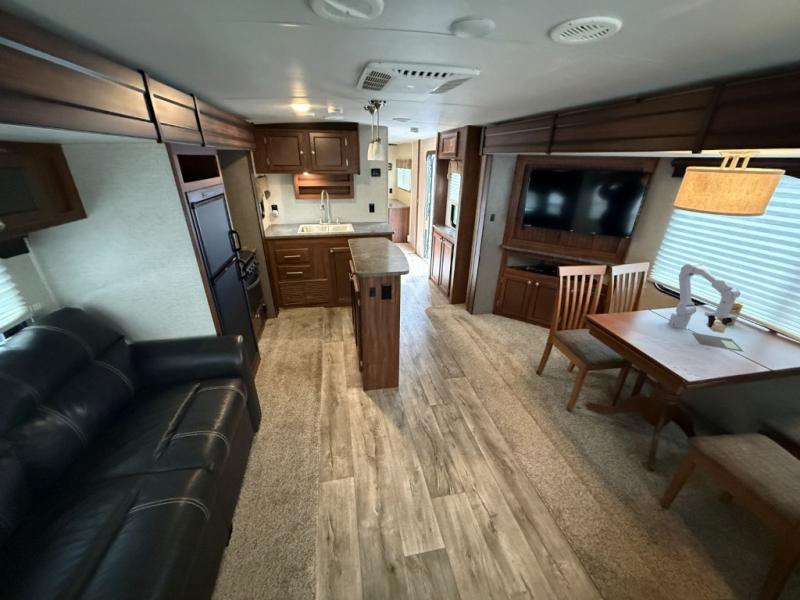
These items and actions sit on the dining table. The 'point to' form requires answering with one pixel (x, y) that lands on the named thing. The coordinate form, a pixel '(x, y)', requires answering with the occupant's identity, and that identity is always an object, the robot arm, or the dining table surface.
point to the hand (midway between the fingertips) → (715, 327)
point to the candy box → (733, 311)
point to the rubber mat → (717, 342)
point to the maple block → (717, 326)
